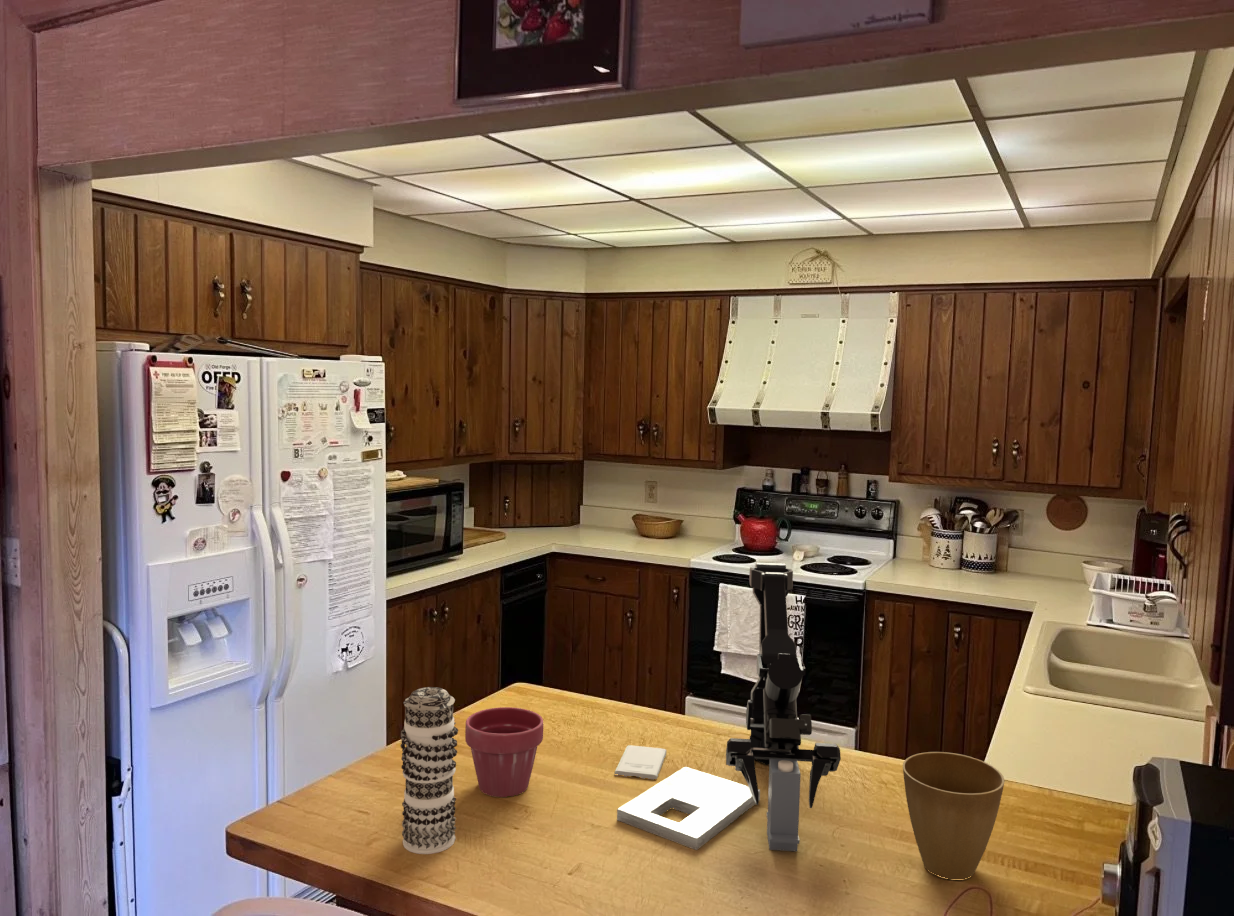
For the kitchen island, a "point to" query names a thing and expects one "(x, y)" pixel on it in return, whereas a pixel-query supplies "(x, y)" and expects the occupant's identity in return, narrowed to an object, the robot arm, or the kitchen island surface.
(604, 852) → the kitchen island surface
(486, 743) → the plant pot
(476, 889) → the kitchen island surface
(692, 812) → the plate
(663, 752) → the external hard drive
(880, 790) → the kitchen island surface
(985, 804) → the plant pot
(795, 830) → the block
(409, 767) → the decorative candle
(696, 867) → the kitchen island surface
